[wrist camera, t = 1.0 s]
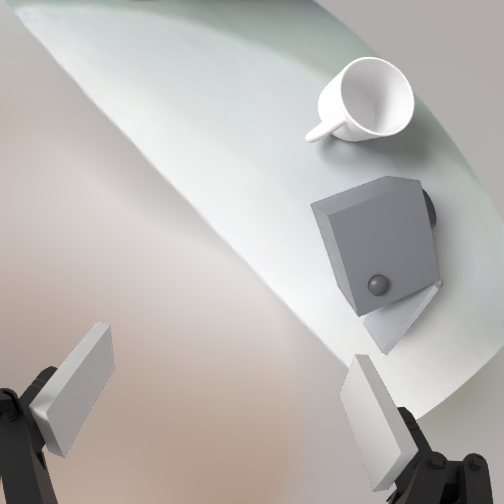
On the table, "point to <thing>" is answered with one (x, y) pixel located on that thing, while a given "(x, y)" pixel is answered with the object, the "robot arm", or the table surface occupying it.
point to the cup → (364, 102)
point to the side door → (398, 317)
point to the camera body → (379, 241)
